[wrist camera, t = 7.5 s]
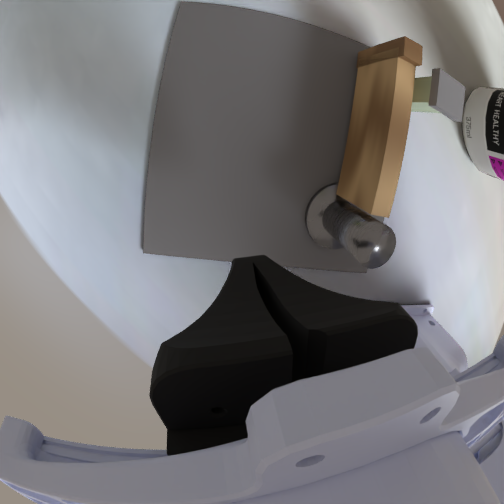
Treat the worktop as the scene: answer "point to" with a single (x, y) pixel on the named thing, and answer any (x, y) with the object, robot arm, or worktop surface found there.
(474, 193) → the worktop surface
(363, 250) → the hinge post
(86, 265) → the worktop surface
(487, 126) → the supplement can
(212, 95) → the mat
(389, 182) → the gate
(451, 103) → the post
